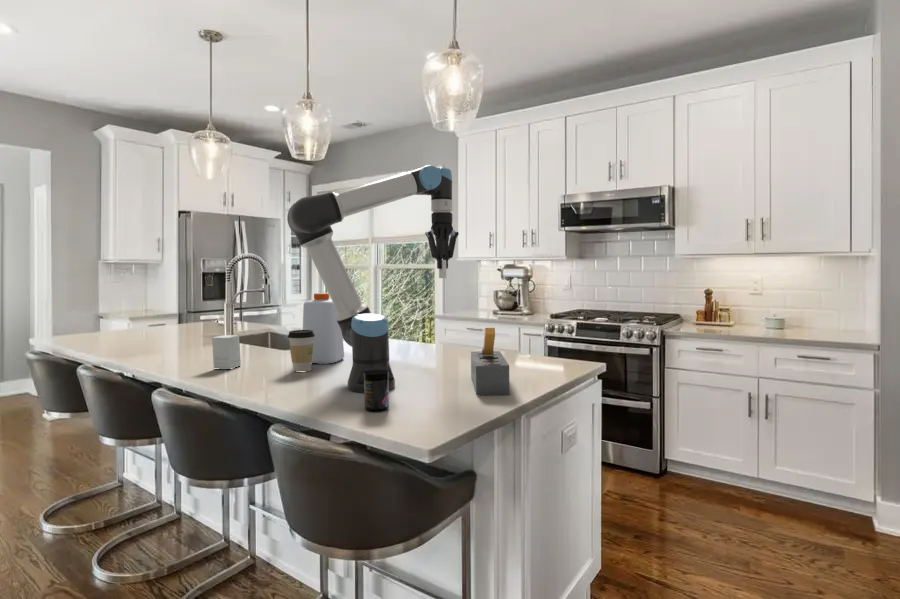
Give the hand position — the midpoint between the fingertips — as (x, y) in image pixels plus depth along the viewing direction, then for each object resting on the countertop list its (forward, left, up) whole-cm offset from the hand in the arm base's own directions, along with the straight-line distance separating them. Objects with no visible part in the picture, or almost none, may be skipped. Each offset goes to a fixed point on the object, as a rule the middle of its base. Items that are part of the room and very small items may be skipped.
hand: (442, 278), depth 197 cm
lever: (+2, -24, -24) cm, 34 cm away
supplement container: (-41, -33, -35) cm, 63 cm away
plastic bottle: (-30, +47, -35) cm, 66 cm away
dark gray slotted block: (+4, -21, -34) cm, 41 cm away
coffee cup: (-43, +32, -35) cm, 64 cm away
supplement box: (-66, +54, -35) cm, 92 cm away
